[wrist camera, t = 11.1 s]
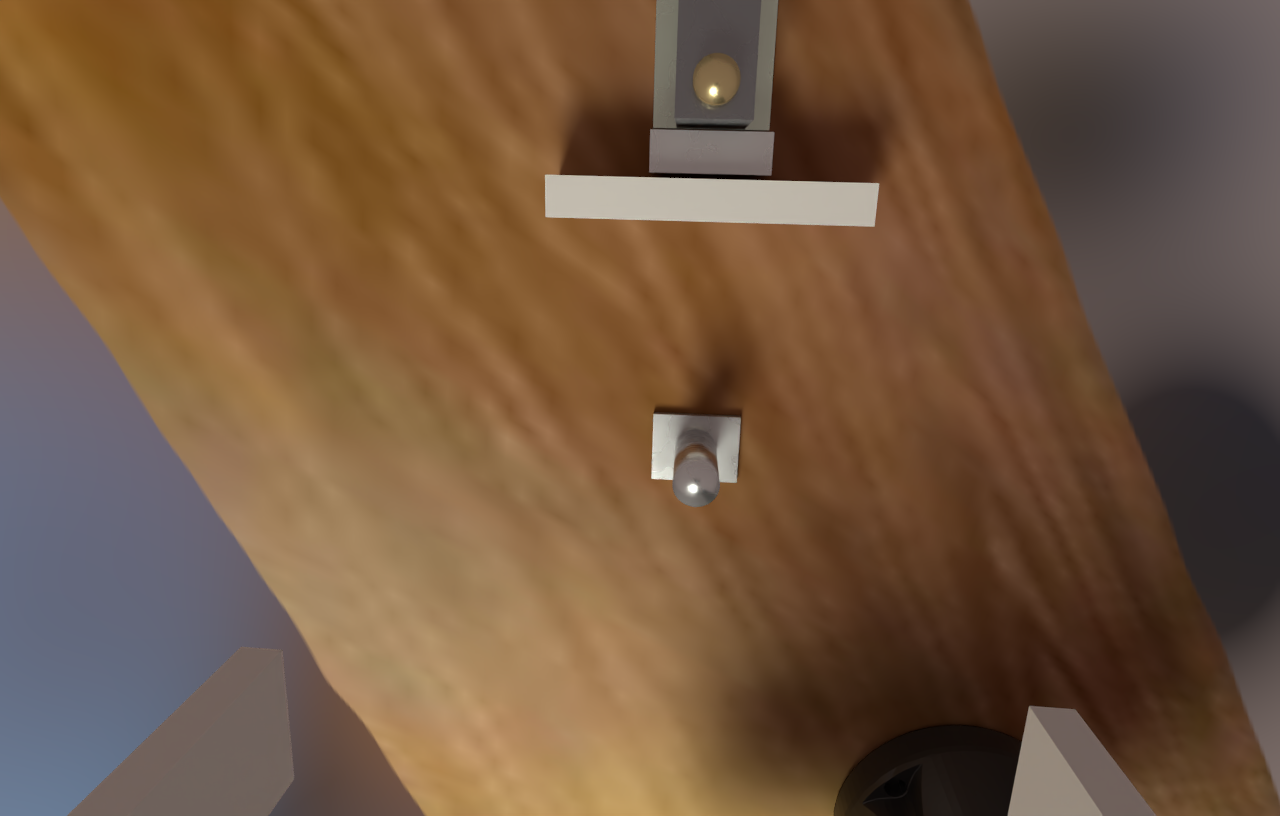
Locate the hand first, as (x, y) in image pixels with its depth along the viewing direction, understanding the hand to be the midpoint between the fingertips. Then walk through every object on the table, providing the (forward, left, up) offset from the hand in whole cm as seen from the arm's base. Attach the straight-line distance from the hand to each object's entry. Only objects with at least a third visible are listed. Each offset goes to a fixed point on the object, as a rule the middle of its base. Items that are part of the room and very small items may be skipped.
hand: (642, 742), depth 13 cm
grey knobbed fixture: (-5, -1, -31) cm, 32 cm away
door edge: (+9, -1, -31) cm, 32 cm away
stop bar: (+17, -1, -31) cm, 35 cm away
